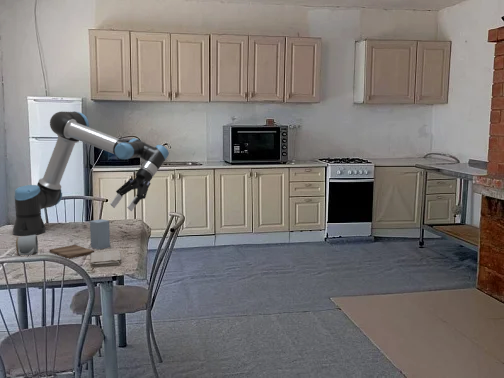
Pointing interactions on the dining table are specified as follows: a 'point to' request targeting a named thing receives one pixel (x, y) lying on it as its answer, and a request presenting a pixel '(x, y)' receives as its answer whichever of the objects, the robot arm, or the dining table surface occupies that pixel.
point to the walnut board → (71, 251)
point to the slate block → (100, 234)
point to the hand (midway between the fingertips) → (120, 207)
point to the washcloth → (105, 259)
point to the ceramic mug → (27, 245)
